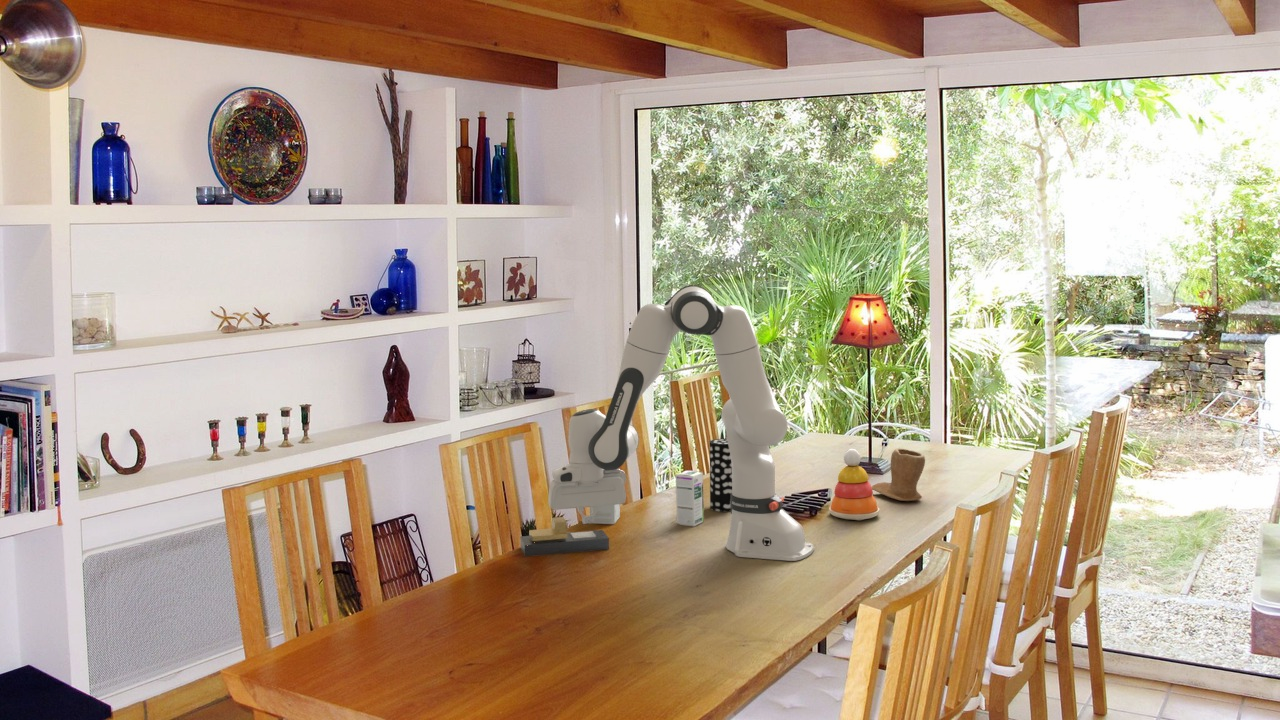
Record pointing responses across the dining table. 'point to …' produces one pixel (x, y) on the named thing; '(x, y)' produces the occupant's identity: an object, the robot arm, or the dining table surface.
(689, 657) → the dining table surface
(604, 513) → the supplement box
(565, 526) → the lever cap
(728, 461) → the spotted tube
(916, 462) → the brown top hat
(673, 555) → the dining table surface
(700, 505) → the syrup box
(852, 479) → the stacking toy
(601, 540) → the body
